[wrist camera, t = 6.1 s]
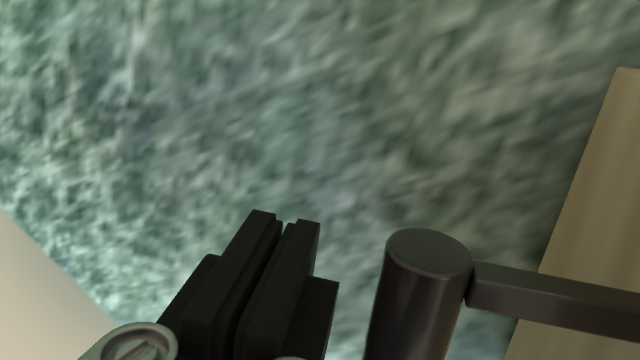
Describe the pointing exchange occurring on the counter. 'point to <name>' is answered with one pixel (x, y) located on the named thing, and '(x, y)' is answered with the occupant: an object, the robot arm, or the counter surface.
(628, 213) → the drawer
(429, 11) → the counter surface
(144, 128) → the counter surface
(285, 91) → the counter surface
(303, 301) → the robot arm
